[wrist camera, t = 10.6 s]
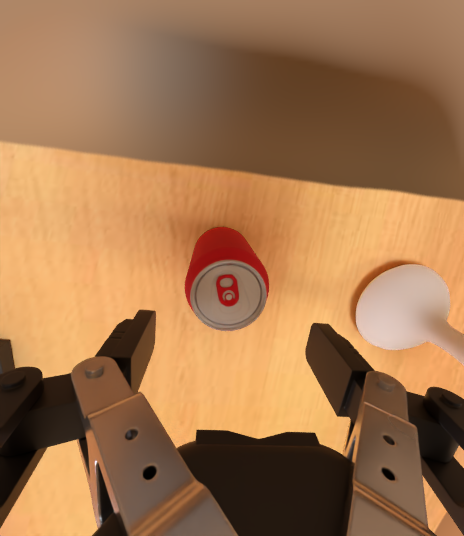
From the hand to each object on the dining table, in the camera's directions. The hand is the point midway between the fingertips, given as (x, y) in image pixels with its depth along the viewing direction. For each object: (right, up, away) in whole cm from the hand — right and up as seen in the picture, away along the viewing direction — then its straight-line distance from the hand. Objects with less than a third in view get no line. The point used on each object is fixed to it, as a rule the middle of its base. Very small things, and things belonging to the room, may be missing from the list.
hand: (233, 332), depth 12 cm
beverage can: (-1, +5, +15) cm, 16 cm away
